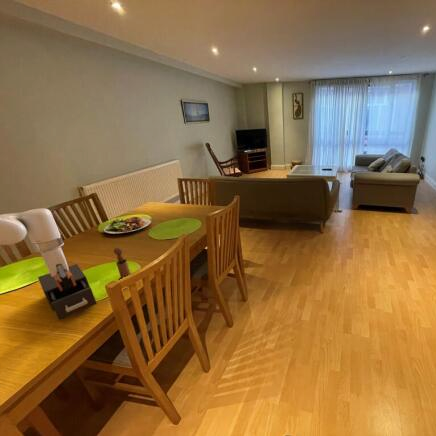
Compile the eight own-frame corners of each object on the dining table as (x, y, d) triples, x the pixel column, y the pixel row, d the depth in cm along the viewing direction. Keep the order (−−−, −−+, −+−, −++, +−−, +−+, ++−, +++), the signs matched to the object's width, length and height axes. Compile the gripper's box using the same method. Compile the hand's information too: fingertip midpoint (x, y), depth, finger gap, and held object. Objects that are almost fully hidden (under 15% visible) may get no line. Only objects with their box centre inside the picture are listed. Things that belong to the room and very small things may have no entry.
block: (60, 291, 89) (55, 281, 87) (58, 286, 91) (53, 276, 89) (76, 285, 92) (72, 275, 90) (73, 280, 94) (69, 270, 93)
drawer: (100, 308, 93) (93, 292, 90) (61, 326, 85) (53, 309, 82) (87, 289, 104) (81, 274, 101) (52, 304, 96) (44, 288, 93)
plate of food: (94, 233, 158) (91, 224, 155) (132, 218, 182) (130, 210, 180) (125, 239, 150) (123, 230, 147) (161, 222, 174) (159, 214, 172)
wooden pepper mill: (123, 288, 106) (112, 253, 99) (116, 283, 109) (104, 249, 102) (139, 280, 111) (129, 246, 104) (131, 276, 114) (121, 242, 108)
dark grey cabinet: (93, 294, 102) (85, 276, 98) (53, 311, 93) (43, 292, 89) (84, 281, 111) (76, 263, 107) (46, 295, 102) (37, 276, 98)
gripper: (30, 240, 87) (49, 281, 94) (37, 255, 77) (58, 300, 84) (57, 233, 92) (74, 272, 99) (67, 246, 82) (85, 289, 89)
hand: (66, 284), depth 91 cm, fingers closed on block, 4 cm apart
